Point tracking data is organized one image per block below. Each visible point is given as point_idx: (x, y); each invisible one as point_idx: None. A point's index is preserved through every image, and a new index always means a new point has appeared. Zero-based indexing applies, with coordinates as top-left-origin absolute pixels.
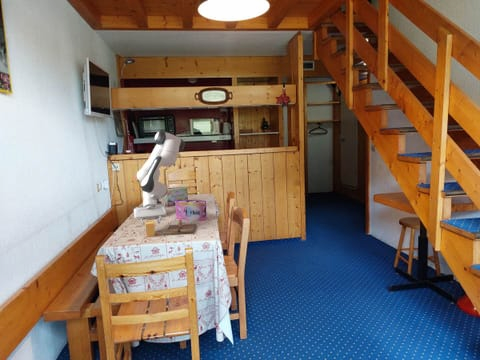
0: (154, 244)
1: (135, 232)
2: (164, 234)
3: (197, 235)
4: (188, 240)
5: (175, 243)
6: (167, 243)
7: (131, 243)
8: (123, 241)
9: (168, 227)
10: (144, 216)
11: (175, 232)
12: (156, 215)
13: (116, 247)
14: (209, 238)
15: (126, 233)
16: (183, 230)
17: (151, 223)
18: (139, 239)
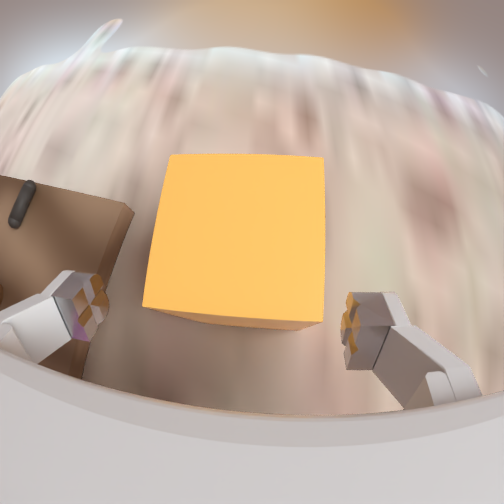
0: (244, 51)
1: None
2: (126, 208)
3: (5, 144)
4: (69, 79)
5: (135, 49)
6: (169, 51)
7: (408, 120)
8: (478, 197)
9: None
10: (387, 414)
11: (51, 187)
12: (13, 354)
13: (469, 103)
14: (10, 97)
15: None
16: (3, 217)
17: (212, 160)
18: (368, 185)
